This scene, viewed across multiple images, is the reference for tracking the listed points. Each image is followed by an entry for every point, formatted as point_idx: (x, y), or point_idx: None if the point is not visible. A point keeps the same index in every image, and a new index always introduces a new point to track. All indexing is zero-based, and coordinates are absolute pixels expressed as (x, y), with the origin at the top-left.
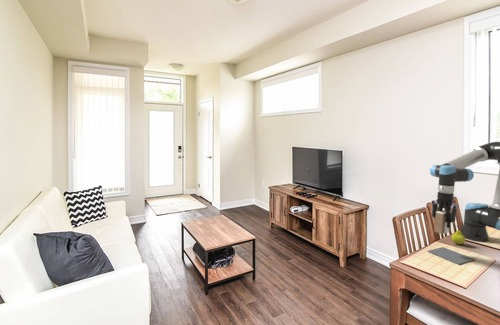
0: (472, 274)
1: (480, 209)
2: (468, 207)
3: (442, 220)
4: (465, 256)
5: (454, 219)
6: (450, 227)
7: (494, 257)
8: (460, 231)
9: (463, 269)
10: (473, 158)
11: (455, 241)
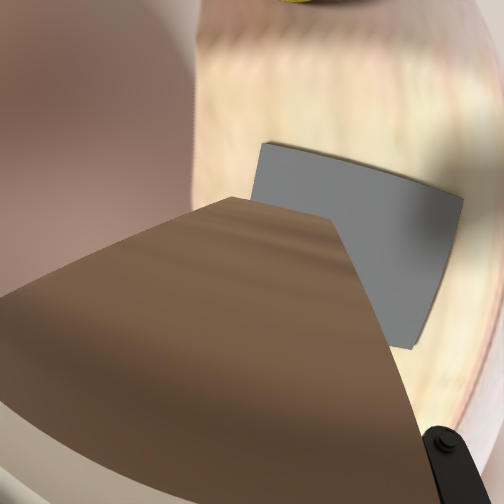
0: (458, 389)
1: None
2: None
3: None
4: (421, 199)
5: (458, 493)
6: (337, 232)
7: (498, 62)
8: None
9: (429, 376)
10: None
11: (290, 1)
